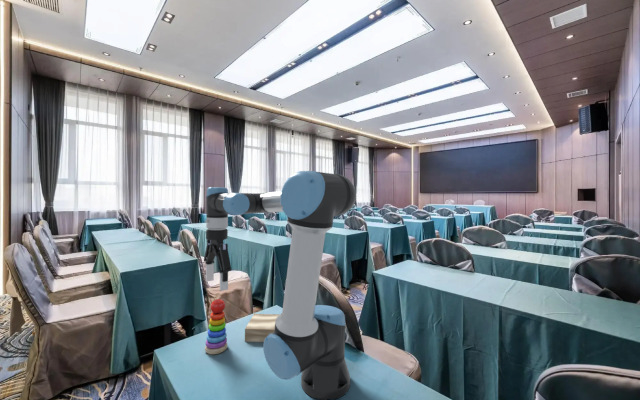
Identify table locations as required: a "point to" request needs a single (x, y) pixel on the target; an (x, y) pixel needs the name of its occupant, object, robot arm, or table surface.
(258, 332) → the plinth
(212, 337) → the stacking toy
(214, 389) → the table surface
